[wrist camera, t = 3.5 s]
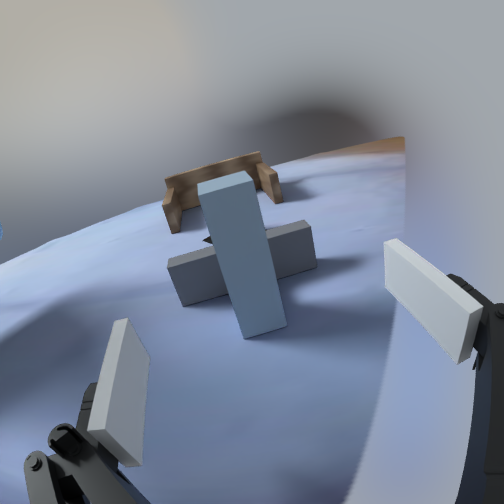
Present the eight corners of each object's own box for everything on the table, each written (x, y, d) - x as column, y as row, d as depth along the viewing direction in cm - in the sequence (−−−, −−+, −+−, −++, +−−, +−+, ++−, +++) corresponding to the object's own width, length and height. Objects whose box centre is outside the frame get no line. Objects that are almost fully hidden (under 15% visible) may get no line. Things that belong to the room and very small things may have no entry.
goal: (171, 233, 51) (158, 193, 48) (175, 210, 63) (165, 177, 60) (283, 201, 52) (274, 160, 49) (266, 184, 64) (258, 151, 61)
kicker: (182, 355, 25) (122, 219, 20) (183, 296, 33) (143, 187, 28) (346, 306, 26) (328, 161, 20) (310, 258, 34) (289, 146, 29)
